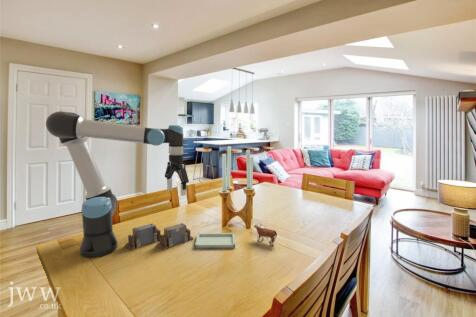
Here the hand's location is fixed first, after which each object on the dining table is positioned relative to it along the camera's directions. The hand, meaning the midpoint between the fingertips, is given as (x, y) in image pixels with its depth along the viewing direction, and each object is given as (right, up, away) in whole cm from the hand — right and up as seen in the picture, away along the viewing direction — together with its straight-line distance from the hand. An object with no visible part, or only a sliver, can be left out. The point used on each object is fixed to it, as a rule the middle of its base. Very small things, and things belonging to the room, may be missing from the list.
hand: (176, 192), depth 136 cm
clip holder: (+3, -23, -13) cm, 26 cm away
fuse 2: (+3, -23, -13) cm, 26 cm away
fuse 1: (-12, -23, -14) cm, 29 cm away
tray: (+23, -23, -12) cm, 34 cm away
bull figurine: (+47, -23, -10) cm, 54 cm away
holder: (-12, -23, -14) cm, 29 cm away
